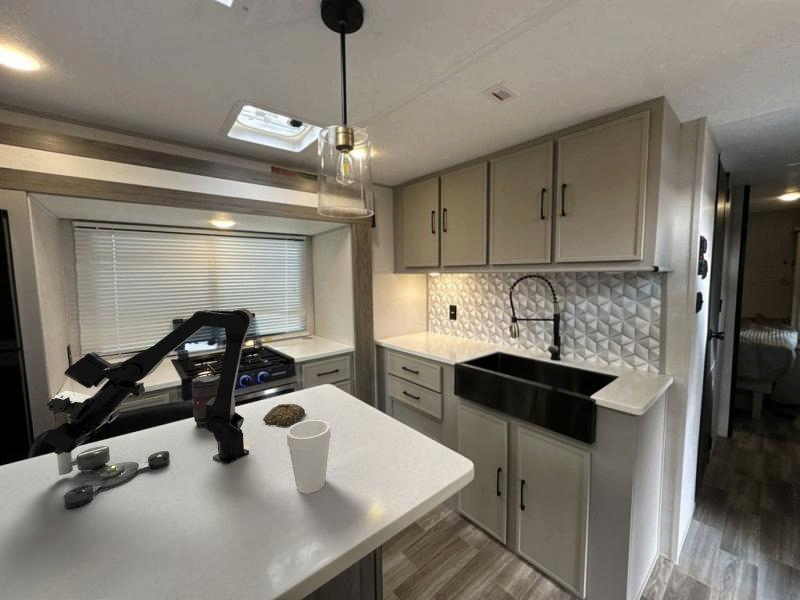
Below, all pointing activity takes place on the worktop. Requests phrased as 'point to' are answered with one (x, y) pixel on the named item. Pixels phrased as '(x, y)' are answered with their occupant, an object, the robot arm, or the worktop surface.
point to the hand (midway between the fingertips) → (57, 452)
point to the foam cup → (309, 453)
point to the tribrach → (111, 478)
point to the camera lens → (203, 396)
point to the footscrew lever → (83, 460)
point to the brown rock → (284, 414)
